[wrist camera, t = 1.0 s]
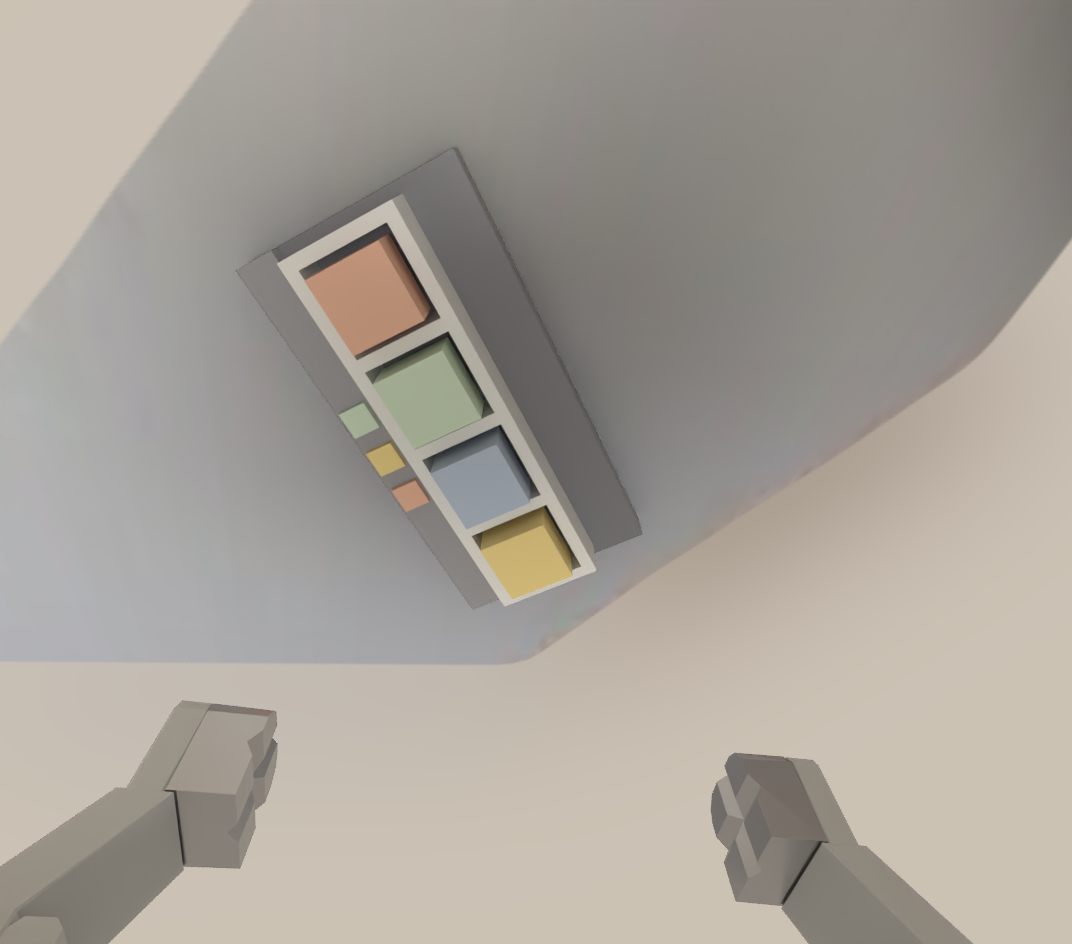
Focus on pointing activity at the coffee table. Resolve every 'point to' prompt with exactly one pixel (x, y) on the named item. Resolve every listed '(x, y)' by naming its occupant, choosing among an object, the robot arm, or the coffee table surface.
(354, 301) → the key terracotta
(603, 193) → the coffee table surface
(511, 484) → the key slate
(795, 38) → the coffee table surface
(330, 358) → the coloured button panel
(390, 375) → the key sage
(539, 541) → the key ochre
